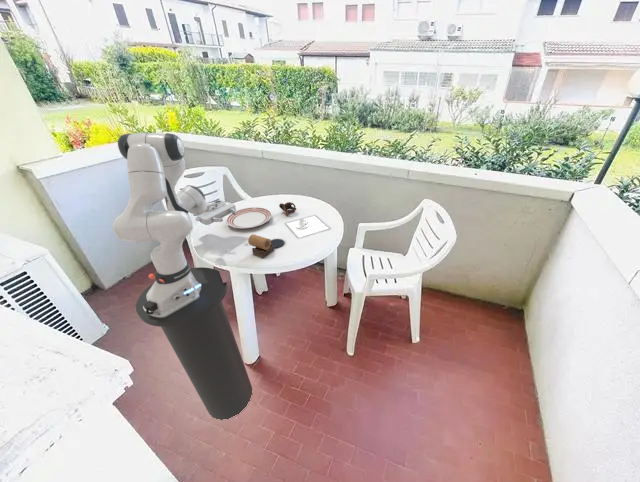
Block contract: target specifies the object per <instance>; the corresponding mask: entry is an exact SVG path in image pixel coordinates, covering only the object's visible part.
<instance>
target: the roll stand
mask: <svg viewBox="0 0 640 482" xmlns="http://www.w3.org/2000/svg"><path fill="white" fill-rule="evenodd" d="M274 251H275V248H274V247H273V244H271V246H270V248H269V249H268V250H264V249H261V248H258V247H252V248H251V252H252V255H253V256H257V257H259V258H262V259H264V258H266V257H267V256H268V255H270V254H271V253H272V252H274Z"/></svg>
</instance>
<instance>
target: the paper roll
mask: <svg viewBox="0 0 640 482" xmlns="http://www.w3.org/2000/svg"><path fill="white" fill-rule="evenodd" d="M247 242H248V243H247V244H248V245H249V246H252V247H253V248H256V247H258V248H261V249H264V250H268V249H269V248H270V246H271V239H269V238H267V237H264V236H260V235H257V234H250V235H249V237H248V239H247Z"/></svg>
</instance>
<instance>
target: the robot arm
mask: <svg viewBox="0 0 640 482" xmlns="http://www.w3.org/2000/svg"><path fill="white" fill-rule="evenodd" d="M117 148H118V150H119V153H120V155H121V156H122V157H123V158H124V159H125V160H126V167H127V168H126V169H127V175H128V176H127V177H128V183H129V199H128V203H127V205H126V207H125V209H124V210H123V211H122V213H121V214H120V215H118V216H117V217H115V219H114V220H113V224H112V230H113V233H114V234H115V236H116V237H117V238H118V239H119V240H120V241H123V242H130V243H145V242H154V241H155V242H156V241H157V242H159V243H160V244H159V245H157V246H156V247H154V248H153V249H152V250H151V253H150V260H151V262H152V264H153V266H154V268H155V270H156V271H155V274H154V273H149V274H148V279H150V280H155V281H154V282H153V283H154V284H153V283H152V284H153V285H152V287H151V288H150V290H149V291H148V293H147V295H146V299H147V302H146V303H145V304H143V309H144V311H145V312H146V313H147V314H149V315H151V316H153V317H157V318H164V317H167V316H168V315H170V314H172V313H174V312H176V311H177V310H179V309H181V308H183V307H184V306H186V305H188V304H190V303H191V302H193V301H195V300H197V299H198V298H199V297H200V295H199V293H200V290H201V284H199V283H198V281H197V280H196V279H195V277H194V276H193V274H192V272H191V268H192V267H191V265H190V263H189V261H188V260H187V258H186V256H185V253H184V250H183V249H184V248H183V244H184V240H185V239H186V238H187V237H188V236H189V235H190V234H191V233H192V230H193V220H192V218H191V216H190V215H189V213H190V214H192V215H194V216H196V218H195V221H197V222H199V223H201V224H203V225H205V226H209V225H212V224H213V223H222V222H224V218H225V217H228V216H229V215H230V214H233V215H235V214H237V212H236V211H237V207H236V204H234V203H232V202H228V201H224V200H222V199H219V200H216V201H211V202H210V201H206V197H205V194H204V193H203V191H202V190H201V189H200V188H199V187H197V186H194V185H190V184H188V185H186V186H184V187H183V188H182V189H181V190H179V192H178V193H176V190H175V189H176V185H177V183H178V181H179V180H180V178H182V176H183V174H184V173H185V171H186V168H187V166H186V161H185V160H186V159H184V156H185V146H184V143H183V141H182V139H181V138H180V137H179V136H178V135H176V134H174V133H169V132H166V133H161V132H160V133H159V132H137V133H124V134H122V135H120V136H119V138H118V140H117ZM163 200H164V201H165V206H166V209H167V210H157V211H156V210H155V207H156V205H157V204H158V203H159V202H161V201H163Z"/></svg>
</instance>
